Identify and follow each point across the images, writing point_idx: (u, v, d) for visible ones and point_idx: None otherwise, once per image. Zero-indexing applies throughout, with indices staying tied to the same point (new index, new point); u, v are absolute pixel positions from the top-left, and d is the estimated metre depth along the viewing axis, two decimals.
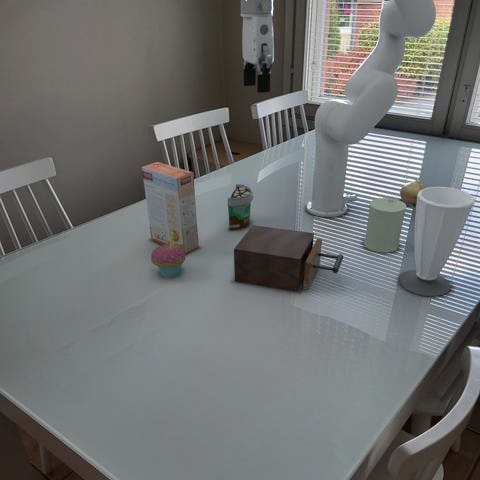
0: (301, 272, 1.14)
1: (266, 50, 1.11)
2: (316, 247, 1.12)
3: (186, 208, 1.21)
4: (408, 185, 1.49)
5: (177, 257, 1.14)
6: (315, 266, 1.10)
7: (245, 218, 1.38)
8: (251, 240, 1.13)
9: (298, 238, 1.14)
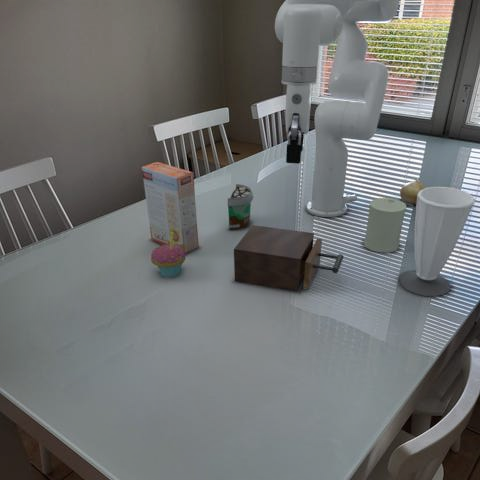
0: (301, 272, 1.14)
1: (294, 121, 1.01)
2: (316, 247, 1.12)
3: (186, 208, 1.21)
4: (408, 185, 1.49)
5: (177, 257, 1.14)
6: (315, 266, 1.10)
7: (245, 218, 1.38)
8: (251, 240, 1.13)
9: (298, 238, 1.14)
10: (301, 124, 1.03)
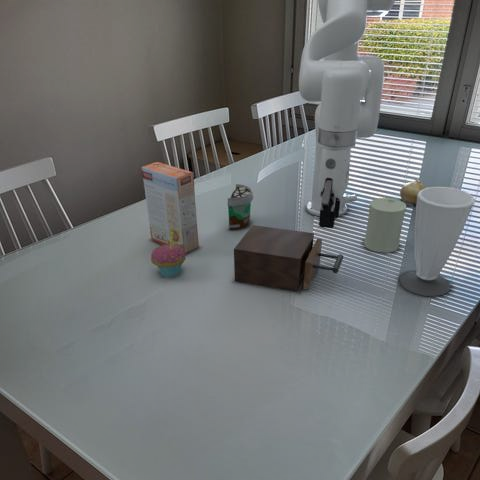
0: (301, 272, 1.14)
1: (325, 192, 0.96)
2: (316, 247, 1.12)
3: (186, 208, 1.21)
4: (408, 185, 1.49)
5: (177, 257, 1.14)
6: (315, 266, 1.10)
7: (245, 218, 1.38)
8: (251, 240, 1.13)
9: (298, 238, 1.14)
10: (334, 189, 0.96)
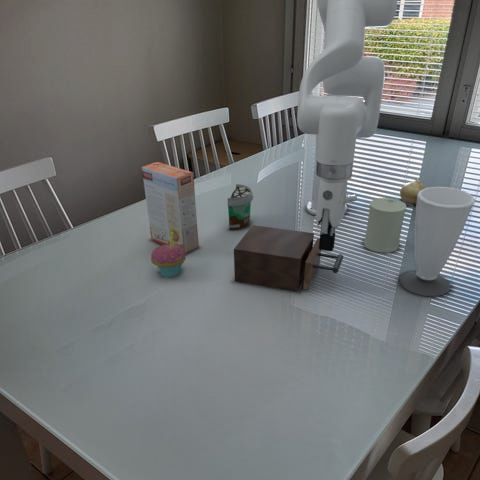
0: (301, 272, 1.14)
1: (324, 223, 1.01)
2: (316, 247, 1.12)
3: (186, 208, 1.21)
4: (408, 185, 1.49)
5: (177, 257, 1.14)
6: (315, 266, 1.10)
7: (245, 218, 1.38)
8: (251, 240, 1.13)
9: (298, 238, 1.14)
10: (331, 219, 1.00)
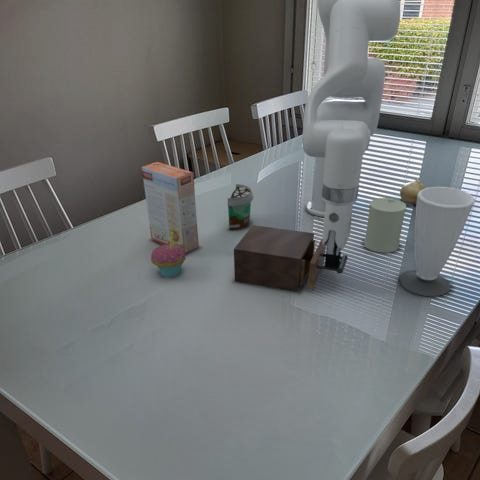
0: (305, 273, 1.14)
1: (330, 244, 1.03)
2: (320, 248, 1.12)
3: (186, 208, 1.21)
4: (408, 185, 1.49)
5: (177, 257, 1.14)
6: (319, 267, 1.09)
7: (245, 218, 1.38)
8: (251, 240, 1.13)
9: (298, 238, 1.14)
10: (337, 240, 1.02)
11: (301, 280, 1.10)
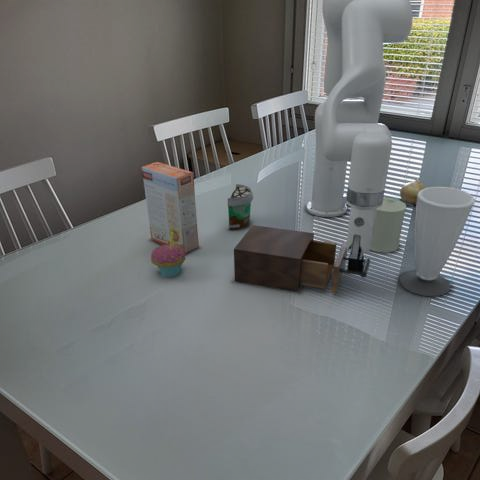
0: (327, 276, 1.12)
1: (354, 249, 1.02)
2: (343, 251, 1.10)
3: (186, 208, 1.21)
4: (408, 185, 1.49)
5: (177, 257, 1.14)
6: (342, 270, 1.08)
7: (245, 218, 1.38)
8: (251, 240, 1.13)
9: (298, 238, 1.14)
10: (362, 245, 1.01)
11: (324, 284, 1.09)
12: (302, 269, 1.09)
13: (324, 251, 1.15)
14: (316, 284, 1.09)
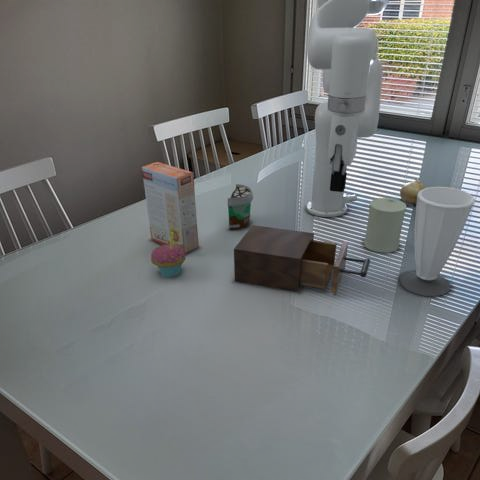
0: (327, 276, 1.12)
1: (336, 160, 1.00)
2: (343, 251, 1.10)
3: (186, 208, 1.21)
4: (408, 185, 1.49)
5: (177, 257, 1.14)
6: (342, 270, 1.08)
7: (245, 218, 1.38)
8: (251, 240, 1.13)
9: (298, 238, 1.14)
10: (344, 155, 0.98)
11: (324, 284, 1.09)
12: (302, 269, 1.09)
13: (324, 251, 1.15)
14: (316, 284, 1.09)
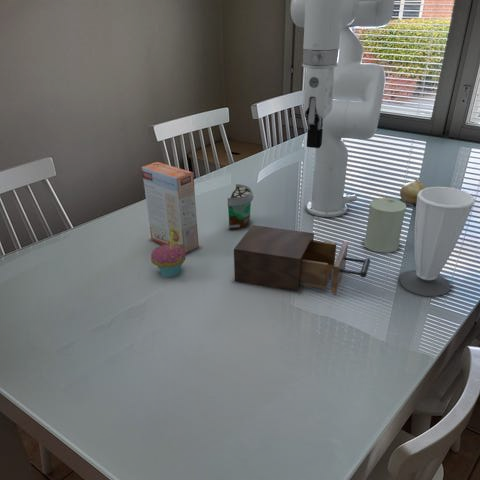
0: (327, 276, 1.12)
1: (310, 113, 1.04)
2: (343, 251, 1.10)
3: (186, 208, 1.21)
4: (408, 185, 1.49)
5: (177, 257, 1.14)
6: (342, 270, 1.08)
7: (245, 218, 1.38)
8: (251, 240, 1.13)
9: (298, 238, 1.14)
10: (318, 108, 1.02)
11: (324, 284, 1.09)
12: (302, 269, 1.09)
13: (324, 251, 1.15)
14: (316, 284, 1.09)
